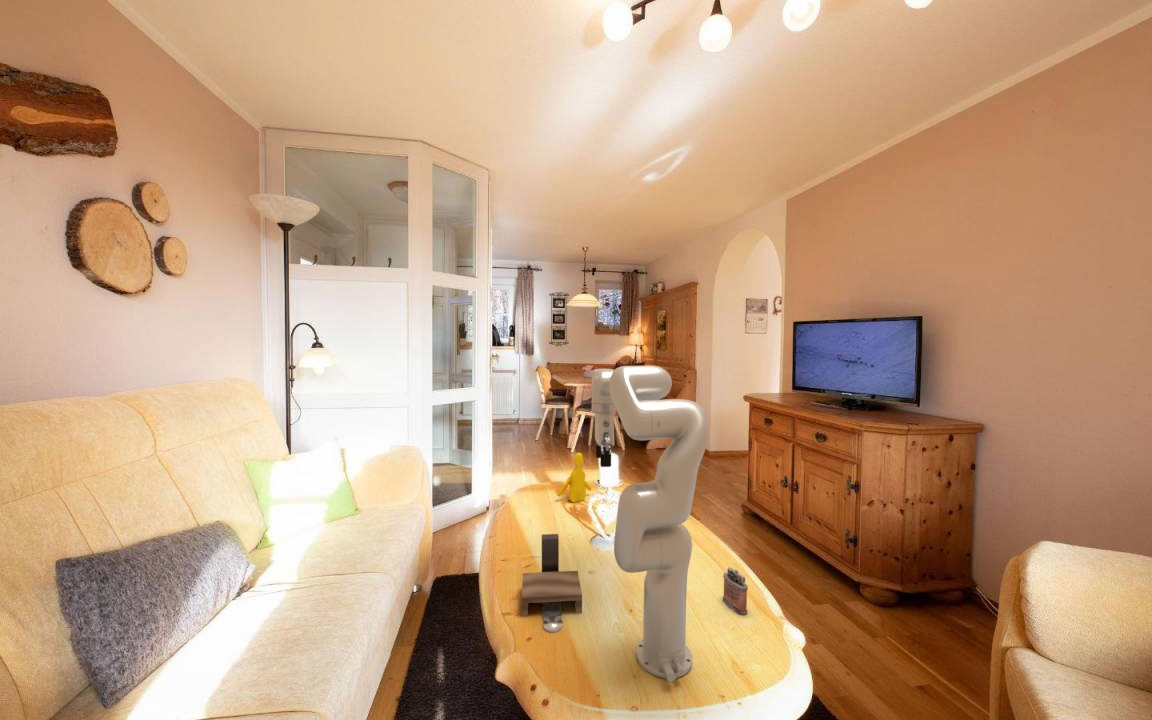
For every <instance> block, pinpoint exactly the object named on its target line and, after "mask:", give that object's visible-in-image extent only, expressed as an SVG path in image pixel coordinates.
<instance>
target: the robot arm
mask: <svg viewBox="0 0 1152 720" xmlns="http://www.w3.org/2000/svg"><path fill="white" fill-rule="evenodd" d="M672 384H673V380H672V377H671V375H670V373H669V372H668V371H667V370H666V369H664V368H663V367H661V366H657V365H622V366H619V367H617V368H615V369H612V368H595V369H593V370H592V373H591V414H594V439H595V458H597V459H600V461H599V462H600V463H599V464H600V467H601V468H609V467H611V466H612V448H611V446H612V447H614V446H615V423H614V422H615V421H614V415H615V414H616V413H617V414H618V416H619V418H620V421H621V424H622V427H623V428H624V431H625V432H626V434H627V436H628V437H630V438H631V439H632V440H634V441H635V440H636V441H652V440H665V439H666V440H667V439H673V440H672V442H671V443H670V444H669V445H668V446H667V447H666V448H665V449H664V451H663V453H661V455H660V456H659V459H658V461H657V464H656V472H655V477H654V479H652V480H651V481H645V482H638V483H637V482H635V483H632V484H629V485H627V486H626V487H625V488H623V490H622V491H621V493H620V495H619V499H618V506H617V511H616V512H617V514H616V522H615V532H614V540H613V549H614V550H613V551H614V552H613V553H614V559H615V561H616V564H617V565H618V567H619V568H620V569H621V571H623V572H625V573H631V574H634V573H642V572H646V574H645V576H644V582H643V617H642V618H643V621H642V622H643V630H642V631H643V632H642V633H643V634H642V635H643V636H642V637H643V638H642V639H641V640H640V641H638V644H637V646H636V650H635V652H636V654H635V656H636V660H637V662H638V663H639V665H640V667H642V668H643V669H644V671H646V672H648V673H649V674H651V675H653V676H655V677H658V678H664V679H666V680H667V681H668V682H669V683H672V682H675V680H676V679H677V678H680V677H683V676H685V675H686V674H688V673H689V672H690V670H691V669H692V666H693V655H692V652H691V650H690V648H689V647H688V646H687V645H686V637H687V635H686V632H687V630H686V629H687V628H686V627H687V585H688V572H689V566H690V562H691V558H692V553H693V542H692V535H691V533H690V532H689V529H688V528H687V527H686V526H685V525H684V524H683V523H685V522H686V521H688V520H689V517H690V515H691V511H692V507H693V502H694V496H695V490H696V486H697V485H696V484H697V477H698V471H699V468H700V464H701V461H702V460H703V456H704V454H705V451H706V449H707V444H708V441H709V422H708V418H707V414H706V412H705V410H704V408H703V407H702V406H701V405H700V404H699V403H697V402H696V401H693V400H690V399H682V398H674V399H673V398H668V399H665V397H666V396H667V395H668V394H669V393H670V392H671V389H672V386H673V385H672ZM663 398H664V399H663Z"/></svg>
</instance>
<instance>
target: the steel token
mask: <svg viewBox="0 0 1152 720" xmlns="http://www.w3.org/2000/svg"><path fill="white" fill-rule="evenodd" d="M563 625H564V622H563V618H562V619H561V618H559V617H556V616H551V617H547V618H546V619H545V620H543V621H542V627H543V628H542V629H543V630H544V631H546V632H548V633H551V634H555V633H558V632H560V631H561V630H562V629H563Z"/></svg>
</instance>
